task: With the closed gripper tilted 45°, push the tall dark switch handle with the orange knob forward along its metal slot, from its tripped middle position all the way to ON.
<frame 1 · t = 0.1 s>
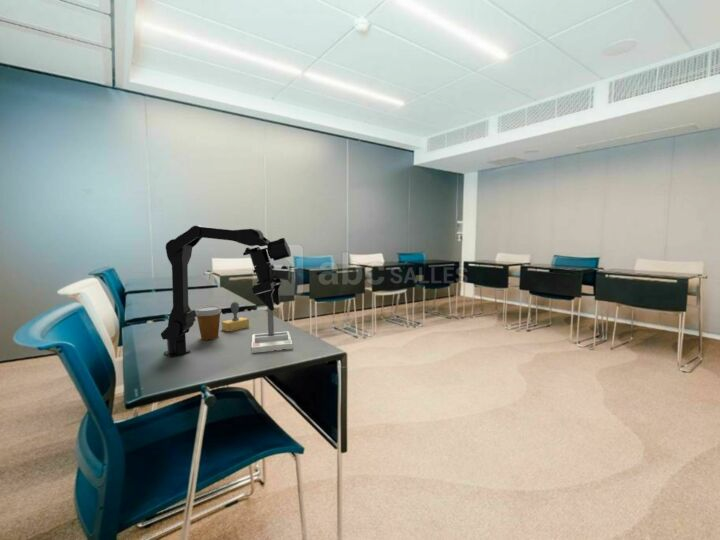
hand: (275, 307, 116), 16 cm above the table, tool tilted 15°, fingers open, 8 cm apart
disposable coffee cup: (209, 338, 134), on the table
switch base: (271, 343, 126), on the table
switch handle: (270, 315, 124), point 11 cm above the table, slide at -0.1 cm, touching gripper
rubber stamp: (235, 328, 147), on the table
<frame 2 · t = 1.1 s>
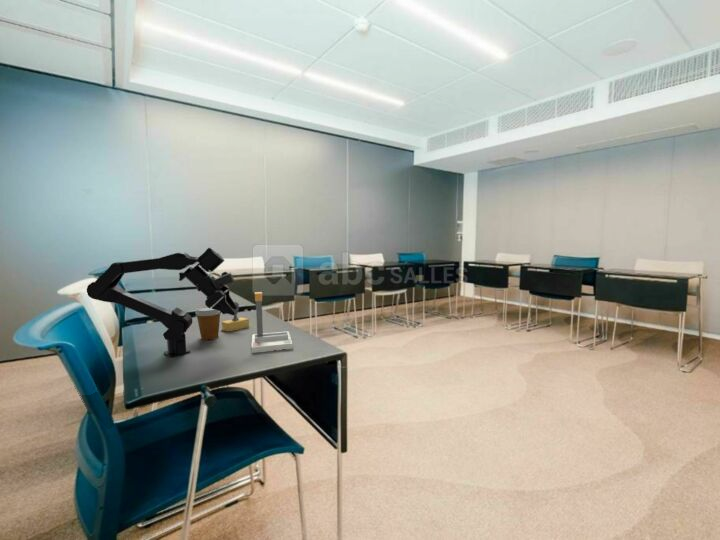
hand: (235, 311, 120), 13 cm above the table, tool tilted 40°, fingers open, 9 cm apart
switch handle: (259, 316, 123), point 11 cm above the table, slide at -4.0 cm
everything else where it was.
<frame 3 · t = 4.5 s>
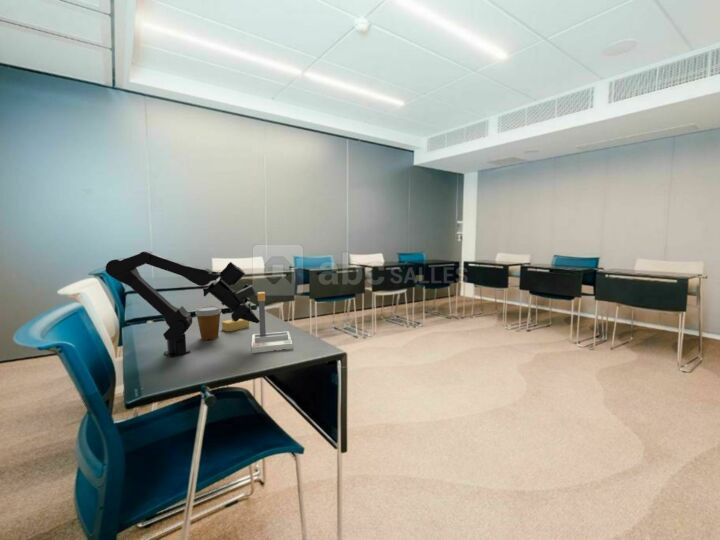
hand: (258, 322, 123), 9 cm above the table, tool tilted 45°, fingers closed, pressing on switch handle
switch handle: (262, 316, 123), point 11 cm above the table, slide at -3.1 cm, touching gripper
everything else where it was.
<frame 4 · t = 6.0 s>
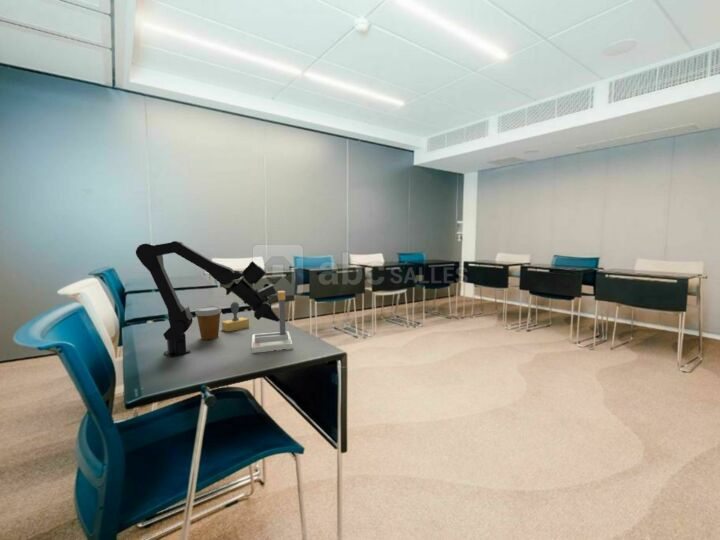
hand: (278, 320, 125), 9 cm above the table, tool tilted 45°, fingers closed, pressing on switch handle
switch handle: (282, 314, 126), point 11 cm above the table, slide at 4.2 cm, touching gripper
everything else where it was.
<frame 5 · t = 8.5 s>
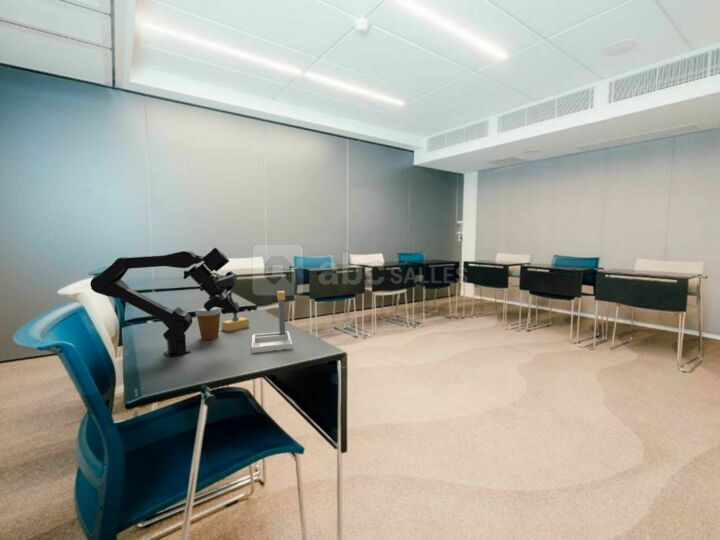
hand: (237, 312, 121), 13 cm above the table, tool tilted 40°, fingers closed
switch handle: (281, 314, 126), point 11 cm above the table, slide at 4.0 cm
everything else where it was.
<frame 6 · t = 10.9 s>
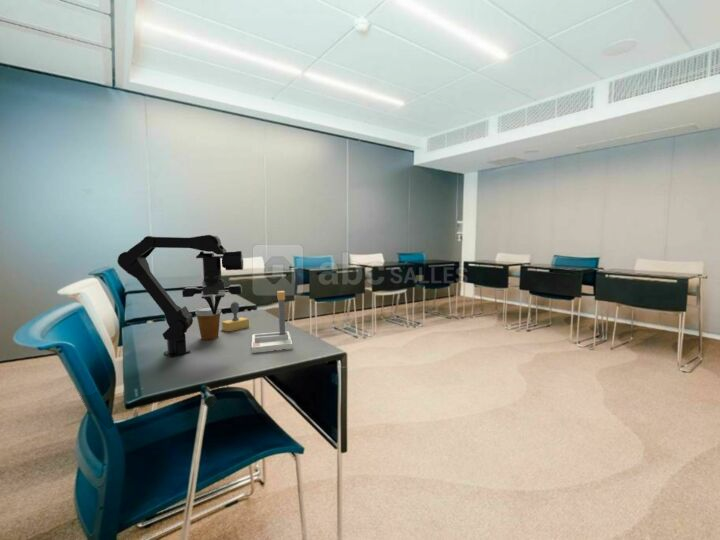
hand: (214, 314, 118), 13 cm above the table, tool pointing down, fingers closed
nothing on the table moved.
at the end: switch handle slide at 4.0 cm; the gripper is holding nothing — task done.
